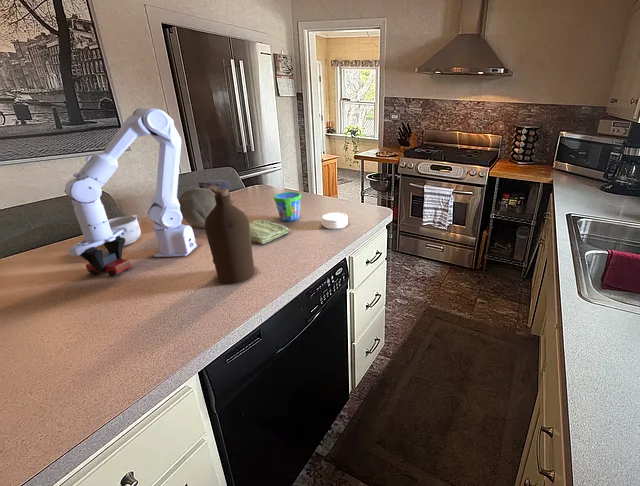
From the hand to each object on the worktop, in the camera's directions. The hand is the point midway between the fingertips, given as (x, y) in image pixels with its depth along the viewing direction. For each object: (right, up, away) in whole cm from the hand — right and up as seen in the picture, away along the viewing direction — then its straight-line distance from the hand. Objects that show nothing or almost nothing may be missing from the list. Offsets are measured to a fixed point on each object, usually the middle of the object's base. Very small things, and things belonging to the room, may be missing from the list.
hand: (109, 267), depth 92 cm
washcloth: (+32, +8, +27) cm, 42 cm away
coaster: (+57, +11, +37) cm, 69 cm away
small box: (-3, +21, +60) cm, 64 cm away
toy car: (0, -1, +1) cm, 1 cm away
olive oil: (+36, -2, 0) cm, 36 cm away
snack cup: (+37, +14, +42) cm, 58 cm away
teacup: (-11, +6, +20) cm, 24 cm away
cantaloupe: (+7, +11, +33) cm, 36 cm away
